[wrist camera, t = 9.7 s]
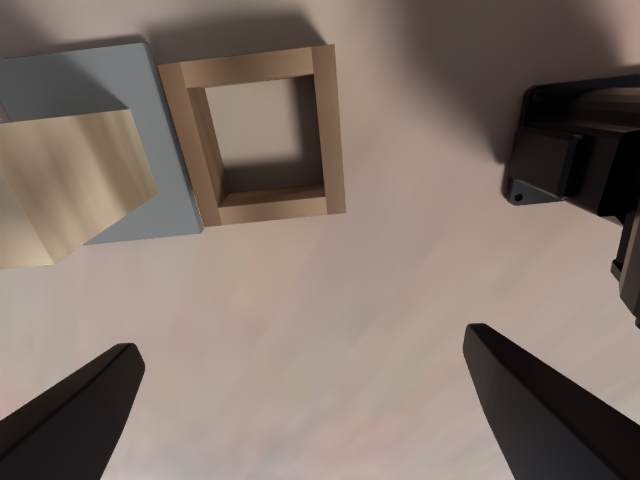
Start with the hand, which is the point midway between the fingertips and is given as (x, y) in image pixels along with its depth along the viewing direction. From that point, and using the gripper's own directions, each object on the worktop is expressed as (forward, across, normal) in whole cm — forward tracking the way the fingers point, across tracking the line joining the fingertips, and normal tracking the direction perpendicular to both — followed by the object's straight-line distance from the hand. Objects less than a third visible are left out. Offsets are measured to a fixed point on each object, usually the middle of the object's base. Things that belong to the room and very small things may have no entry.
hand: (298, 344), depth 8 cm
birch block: (+11, +11, -4) cm, 16 cm away
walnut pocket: (+12, +2, -4) cm, 12 cm away
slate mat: (+11, +11, -4) cm, 16 cm away
